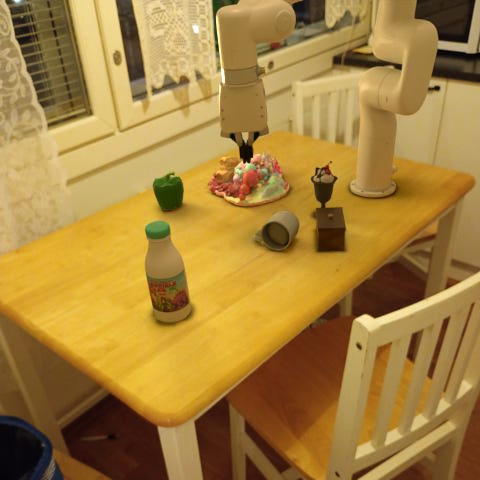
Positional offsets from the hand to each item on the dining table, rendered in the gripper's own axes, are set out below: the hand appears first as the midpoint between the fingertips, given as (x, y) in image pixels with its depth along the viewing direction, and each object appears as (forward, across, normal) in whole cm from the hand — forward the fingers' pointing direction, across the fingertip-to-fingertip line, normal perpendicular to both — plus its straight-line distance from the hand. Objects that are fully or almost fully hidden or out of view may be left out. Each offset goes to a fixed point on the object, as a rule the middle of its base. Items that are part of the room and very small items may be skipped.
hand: (247, 161), depth 119 cm
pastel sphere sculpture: (+20, +2, -30) cm, 37 cm away
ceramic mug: (+20, -6, +3) cm, 21 cm away
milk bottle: (+19, +15, +31) cm, 39 cm away
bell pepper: (+20, +24, -19) cm, 36 cm away
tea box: (+20, -19, +3) cm, 27 cm away
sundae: (+20, -18, -11) cm, 29 cm away
